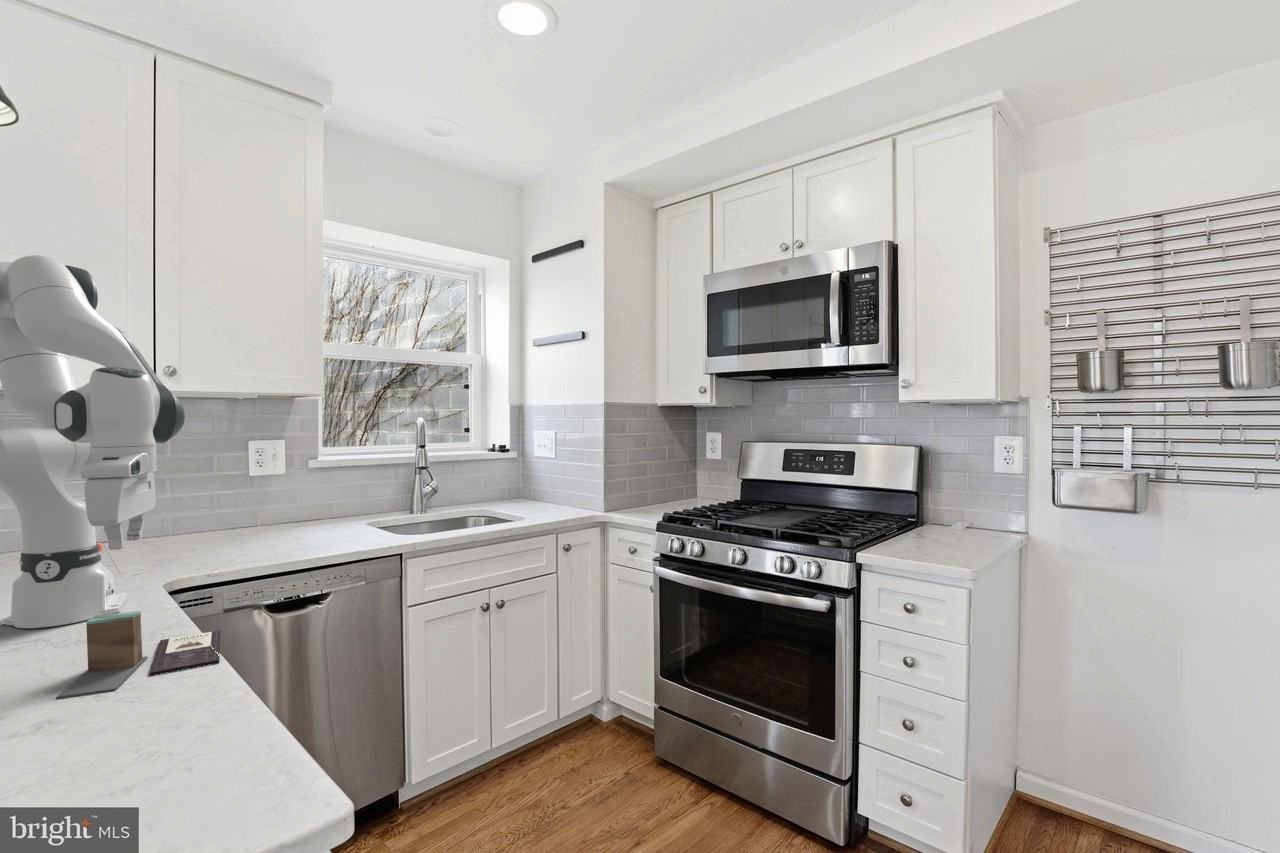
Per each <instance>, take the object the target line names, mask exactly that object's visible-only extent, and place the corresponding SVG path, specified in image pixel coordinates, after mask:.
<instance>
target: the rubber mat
mask: <svg viewBox="0 0 1280 853" xmlns="http://www.w3.org/2000/svg"><path fill="white" fill-rule="evenodd" d="M148 658H149V656H148V655H147V656H142V660H141V661H140V662H139V663H138V664H137V665H136V666H134V667H127V668H119V669H112V670H104V671H97V672H89V673H88V669H87V670H85V671H84V672H83V673H82V674H81V675H80V676H79V677H78V678H76V679H74V681H73V682H72V683H70V684H69V685H68V686H67V687H65V689H63V690H62V691H61V692H60V693H59V694H57V695H56V697H55V699H56V700H57V699H59V700H60V699H65V698H72V697H78V696H85V695H92V694H93V695H94V694H99V693H107V692H114V691H117V690H118V689H119V688H120V687H121V686H123V684H124V683H125V682H126V681H127V680H128V679H129V678H130V677H131V676H132V675H133V674H134V673H135V672H136V671H137V669H138V668H139V667H141V666H142V665H143V664H144V663H145V662H146V660H148Z"/></svg>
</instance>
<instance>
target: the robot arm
mask: <svg viewBox="0 0 1280 853" xmlns="http://www.w3.org/2000/svg"><path fill="white" fill-rule="evenodd" d="M99 295H100V293H99V287H98V286H97V283H96V280H95V279H94V277H93V275H92V274H91V273H90V272H89V271H88V270H87V269H83V268H80V267H76V266H73V265H72V266H71V265H64V264H63V263H62V262H60V261H59V260H57V259H54V258H53V257H49V256H45V255H37V254H36V255H34V254H33V255H25V256H23V257H20V258H17V259H15V260H14V261H12V262H11V261H10V262H9V261H7V262H6V261H5V262H4V261H3V262H1V261H0V384H1V389H2V392H3V397H4V399H5V402H6V404H8V405H9V406H10V407H11V408H12V409H14V410H15V411H18V412H19V413H23V414H24V415H27V416H29V417H31V419H34V420H35V421H36V422H38V423H39V424H40V425H41V426H16V427H9V428H3V429H0V489H1V490H2V491H3V492H4V493H5V494H6V495H7V496H8V497H9V498H10V499H11V501H12V502H13V504H14V506H15V507H16V509H17V512H18V515H19V518H20V526H21V534H22V548H23V550H22V552H21V553H20V559H19V565H20V572H22V573H21V575H20V576H19V577H18V578H16V580H14V581H13V582H12V589H11V590H12V591H11V604H10V606H11V608H10V616H8V617H5V618H3V619H2V624H6V625H5V626H12V625H13V627H15V628H18V629H38V628H39V629H40V628H48V627H57V626H64V625H69V624H74V623H78V622H84V621H88V620H90V619H91V618H93V617H94V616H96V615H105V614H115V613H121V611H122V609H123V607H124V605H125V603H126V601H127V599H128V593H127V592H115V579H114V574H113V573H112V572H111V571H110V570H109V569H108V568H107V567H105V565H104V564H103V563H102V562H101V560H102V556H101V553H102V552H103V549H104V546H103V545H104V544H103V543H102V542H98V543H97V538H96V537H97V536H96V534H97V533H96V527H104V528H103V530H104V533H105V536H106V538H107V543H108V550H109V551H119V550H121V549H123V548H124V547H125V546H126V544H125V543H126V542H125V541H126V540H128V541H129V542H131V541H139V540H141V539H142V538H143V527H144V523H145V519H146V518H145V517H146V514H145V513H147V512H150V511H153V510H154V509H156V508H155V507H156V503H157V496H156V495H157V494H156V483H155V474H154V473H155V472H157V470H158V468H157V444H165V443H166V442H168V441H170V440H171V439H172V438H173V437H174V436H176V435H177V434H178V433H179V432H180V431H181V430H182V428H184V427H183V426H184V424H185V419H186V418H185V411H184V407H183V405H182V403H181V401H180V399H179V398H178V397H177V396H176V395H175V394H174V393H173V392H172V391H171V390H170V389H169V388H168V387H166V386H165V385H164V384H163V382H162V381H161V380H160V378H159V377H158V375H157V374H156V372H155V371H154V370H153V368H152V367H151V365H150V364H149V363H148V362H147V360H146V359H145V357H144V356H143V355H142V353H141V352H140V350H139V349H138V347H137V346H136V345H135V343H134V342H133V341H132V340H131V339H130V337H129V336H128V335H127V334H126V333H125V332H124V331H122V330H121V329H119V328H118V327H116V326H114V325H113V324H111V323H110V322H109V321H107V320H106V319H105V318H104V317H102V316H101V315H100V314H99V312H98V311H96V309H97V307H98V302H99V299H100V298H99ZM69 356H70V357H73V358H77V359H80V360H86V361H89V362H91V363H92V362H93V363H95V364H98V365H100V366H102V367H99V368H95V369H93V371H92V372H91V374H90V378H89V381H88V382H87V383H85V384H84V385H82V386H80V387H78V385H77V382H76V380H75V377H74V373H73V370H72V366H71V363H70V359H69ZM76 479H77V480H79V479H85V483H84V500H82V499H80V498H77V497H74V496H71V495H70V494H69V493H68V491H67V489H66V487H65V483H64V481H67V480H76ZM126 521H128V530H127V531H126V537H125V536H124V534H123V528H124V522H126Z"/></svg>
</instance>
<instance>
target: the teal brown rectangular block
mask: <svg viewBox="0 0 1280 853" xmlns="http://www.w3.org/2000/svg"><path fill="white" fill-rule="evenodd" d="M141 611H142V610H136V611H128V612H125V611H124V612H116V613H112V614H105V615H96V616H94V617H93V618H91V619H88V620H86V622H85V623H86V624H85V625H86V645H87V646H86V648H87V650H86V651H87V670H88V673H89V672H97V671H104V670H112V669H119V668H127V667H134V666H136V665H137V664H138V663H139V662H140V661H141V660H142V657H143V645H142V644H143V643H142V642H143V640H142V639H143V638H142V615H141V614H142V612H141Z"/></svg>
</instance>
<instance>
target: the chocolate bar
mask: <svg viewBox="0 0 1280 853" xmlns="http://www.w3.org/2000/svg"><path fill="white" fill-rule="evenodd" d="M201 634H202V635H203V636H202V635H201ZM204 637H205V638H206V639H207V641H208V642H209V643H210V645H211V646H212V647H213V648H214V649H212V647H211V646H210V645H209V644H208V643H207V641H206V640H205V639H204ZM220 649H221V630H215V631H207V632H202V633H195V634H188V635H184V636H183V635H182V636H177V637H171V638H165V639H160V641H159V643H158V647H157V649H156V652H155V656H154V659H153V662H152V664H151V669H150V671H149V676H150V675H152V676H156V675H155V674H158V675H161V674H160V673H163V674H167V673H166V672H169V673H172V671H174V672H177V670H179V671H182V669H185V670H188V669H187V668H190V669H194V668H193V667H195V668H198V667H197V666H201V667H204V666H203V665H206V666H209V665H208V664H212V665H216V664H220V655H221V654H220V653H221V652H220V651H221V650H220ZM215 651H216V652H218V654H220V655H219V656H218V654H217V653H216V652H215Z"/></svg>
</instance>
